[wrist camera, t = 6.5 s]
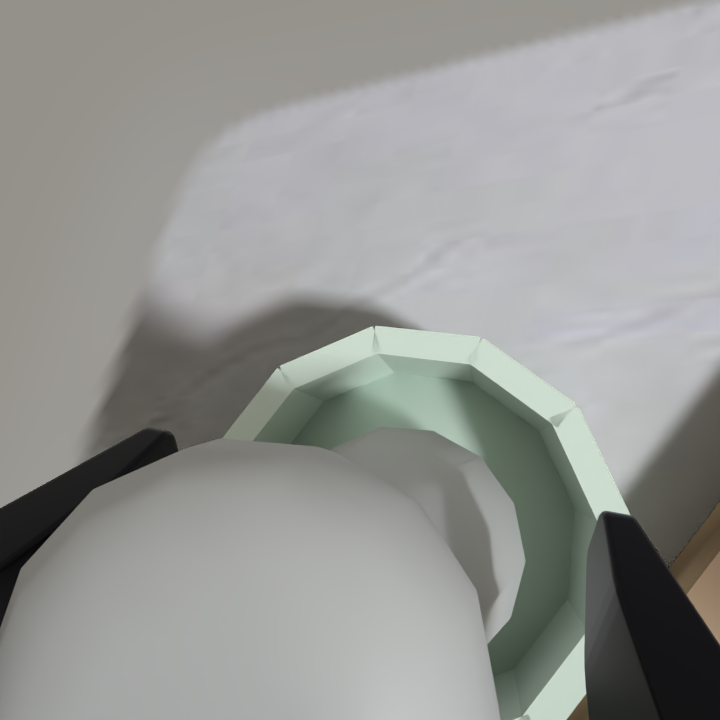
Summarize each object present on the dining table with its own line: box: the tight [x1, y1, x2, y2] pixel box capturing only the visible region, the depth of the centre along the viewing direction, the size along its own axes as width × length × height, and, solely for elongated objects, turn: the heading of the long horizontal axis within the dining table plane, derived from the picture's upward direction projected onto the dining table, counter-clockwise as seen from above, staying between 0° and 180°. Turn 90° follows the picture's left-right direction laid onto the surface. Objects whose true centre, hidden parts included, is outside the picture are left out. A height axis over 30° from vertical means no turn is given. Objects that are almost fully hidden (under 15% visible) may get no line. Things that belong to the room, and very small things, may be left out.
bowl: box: [222, 326, 630, 720], centre depth 15 cm, size 10×10×4 cm
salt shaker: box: [0, 427, 526, 720], centre depth 10 cm, size 6×6×13 cm
